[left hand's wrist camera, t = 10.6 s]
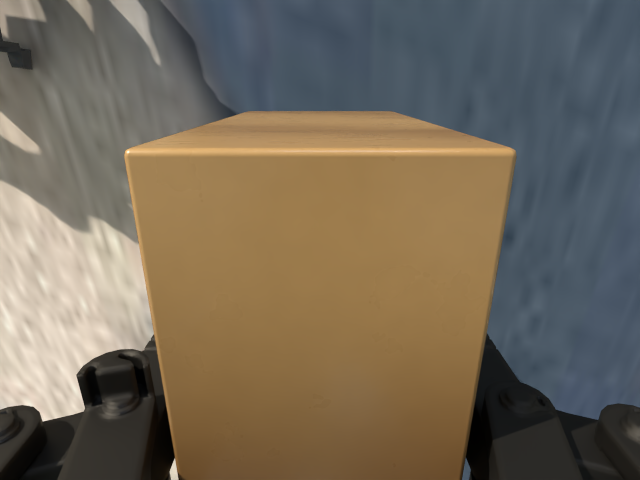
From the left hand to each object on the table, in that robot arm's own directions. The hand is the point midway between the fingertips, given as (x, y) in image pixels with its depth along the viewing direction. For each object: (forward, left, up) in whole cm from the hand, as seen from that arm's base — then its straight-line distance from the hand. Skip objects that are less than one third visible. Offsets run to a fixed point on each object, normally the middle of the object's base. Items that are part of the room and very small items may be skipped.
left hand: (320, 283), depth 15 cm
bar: (+19, 0, -1) cm, 19 cm away
